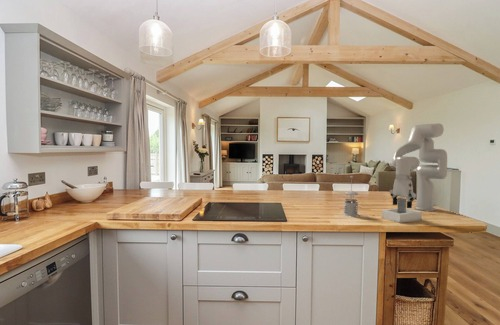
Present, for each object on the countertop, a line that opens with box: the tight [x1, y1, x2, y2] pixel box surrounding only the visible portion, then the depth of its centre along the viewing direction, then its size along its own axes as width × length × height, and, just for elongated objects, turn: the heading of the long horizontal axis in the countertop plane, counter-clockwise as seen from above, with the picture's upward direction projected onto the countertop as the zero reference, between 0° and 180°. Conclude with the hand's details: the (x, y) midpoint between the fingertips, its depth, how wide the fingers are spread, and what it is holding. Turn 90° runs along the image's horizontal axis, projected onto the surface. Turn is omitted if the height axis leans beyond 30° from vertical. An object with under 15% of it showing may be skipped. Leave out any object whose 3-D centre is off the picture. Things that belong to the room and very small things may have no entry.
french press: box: [342, 175, 360, 218], centre depth 167 cm, size 10×12×25 cm
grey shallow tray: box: [381, 207, 423, 224], centre depth 157 cm, size 18×12×5 cm, turn 111°
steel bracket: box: [397, 197, 407, 214], centre depth 157 cm, size 10×4×12 cm, turn 111°
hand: (401, 206), depth 157 cm, fingers open, 9 cm apart
